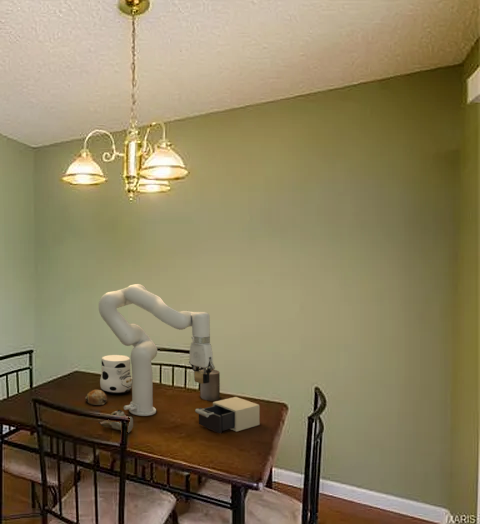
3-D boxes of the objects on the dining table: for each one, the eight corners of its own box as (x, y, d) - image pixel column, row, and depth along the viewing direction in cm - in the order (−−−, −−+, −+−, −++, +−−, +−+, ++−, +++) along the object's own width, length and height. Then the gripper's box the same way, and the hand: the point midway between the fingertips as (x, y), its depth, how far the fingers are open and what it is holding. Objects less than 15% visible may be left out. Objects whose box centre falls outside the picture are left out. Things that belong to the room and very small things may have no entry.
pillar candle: (223, 397, 219) (223, 368, 219) (214, 402, 212) (214, 372, 212) (205, 393, 226) (205, 365, 225) (196, 398, 218) (196, 369, 218)
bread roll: (96, 413, 207) (102, 400, 205) (80, 401, 212) (86, 387, 210) (106, 407, 215) (112, 394, 213) (90, 395, 220) (96, 383, 218)
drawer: (211, 435, 169) (211, 415, 169) (190, 426, 179) (190, 406, 179) (242, 426, 178) (242, 407, 178) (220, 418, 188) (220, 399, 188)
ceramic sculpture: (122, 416, 169) (96, 408, 180) (123, 438, 169) (97, 429, 180) (140, 410, 176) (113, 403, 188) (141, 431, 176) (114, 423, 187)
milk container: (133, 396, 222) (133, 361, 222) (100, 396, 222) (100, 361, 222) (130, 386, 239) (130, 354, 239) (99, 386, 240) (99, 354, 240)
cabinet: (236, 431, 176) (236, 410, 176) (212, 421, 187) (212, 402, 186) (259, 424, 183) (259, 404, 183) (235, 415, 194) (235, 396, 194)
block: (202, 383, 185) (201, 373, 185) (194, 381, 188) (194, 371, 188) (209, 382, 187) (209, 372, 187) (201, 379, 191) (201, 370, 191)
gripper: (181, 338, 193) (181, 378, 193) (209, 344, 178) (210, 387, 178) (193, 336, 197) (193, 376, 197) (222, 342, 182) (222, 384, 182)
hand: (201, 381), depth 188 cm, fingers closed on block, 4 cm apart
